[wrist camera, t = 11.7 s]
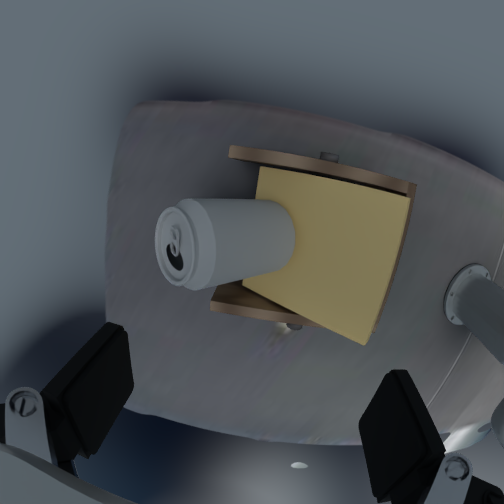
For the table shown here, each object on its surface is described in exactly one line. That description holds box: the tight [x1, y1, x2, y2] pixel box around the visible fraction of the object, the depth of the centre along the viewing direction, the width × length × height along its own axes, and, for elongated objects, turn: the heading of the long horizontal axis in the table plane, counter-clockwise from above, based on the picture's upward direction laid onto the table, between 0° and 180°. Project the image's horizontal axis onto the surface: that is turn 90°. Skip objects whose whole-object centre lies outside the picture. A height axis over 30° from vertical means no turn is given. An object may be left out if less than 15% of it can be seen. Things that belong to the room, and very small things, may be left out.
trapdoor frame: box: [210, 145, 417, 333], centre depth 34 cm, size 19×19×14 cm
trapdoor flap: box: [242, 166, 411, 346], centre depth 27 cm, size 16×14×1 cm
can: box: [155, 198, 295, 291], centre depth 25 cm, size 8×8×12 cm
